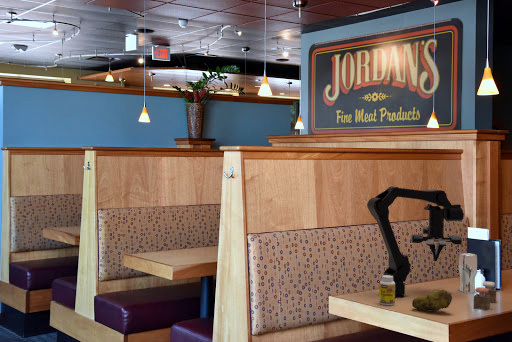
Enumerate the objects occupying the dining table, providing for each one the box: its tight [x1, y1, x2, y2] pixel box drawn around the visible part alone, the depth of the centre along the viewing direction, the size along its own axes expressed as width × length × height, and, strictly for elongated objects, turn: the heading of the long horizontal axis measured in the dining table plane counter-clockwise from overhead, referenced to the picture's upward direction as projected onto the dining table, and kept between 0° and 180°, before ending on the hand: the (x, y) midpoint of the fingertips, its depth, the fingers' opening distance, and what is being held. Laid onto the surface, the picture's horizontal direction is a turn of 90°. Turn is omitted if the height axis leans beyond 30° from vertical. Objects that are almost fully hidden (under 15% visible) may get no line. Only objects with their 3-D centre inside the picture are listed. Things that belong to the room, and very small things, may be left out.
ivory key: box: [482, 281, 496, 290], centre depth 234 cm, size 4×4×5 cm
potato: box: [411, 289, 453, 312], centre depth 217 cm, size 8×13×8 cm, turn 46°
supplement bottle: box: [378, 274, 396, 306], centre depth 227 cm, size 6×6×10 cm
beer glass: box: [458, 252, 478, 294], centre depth 251 cm, size 7×7×15 cm
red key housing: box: [473, 293, 491, 311], centre depth 223 cm, size 5×5×4 cm
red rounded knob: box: [475, 286, 488, 297], centre depth 223 cm, size 4×4×5 cm
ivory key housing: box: [485, 287, 497, 304], centre depth 234 cm, size 5×5×4 cm
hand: (435, 261), depth 245 cm, fingers closed
